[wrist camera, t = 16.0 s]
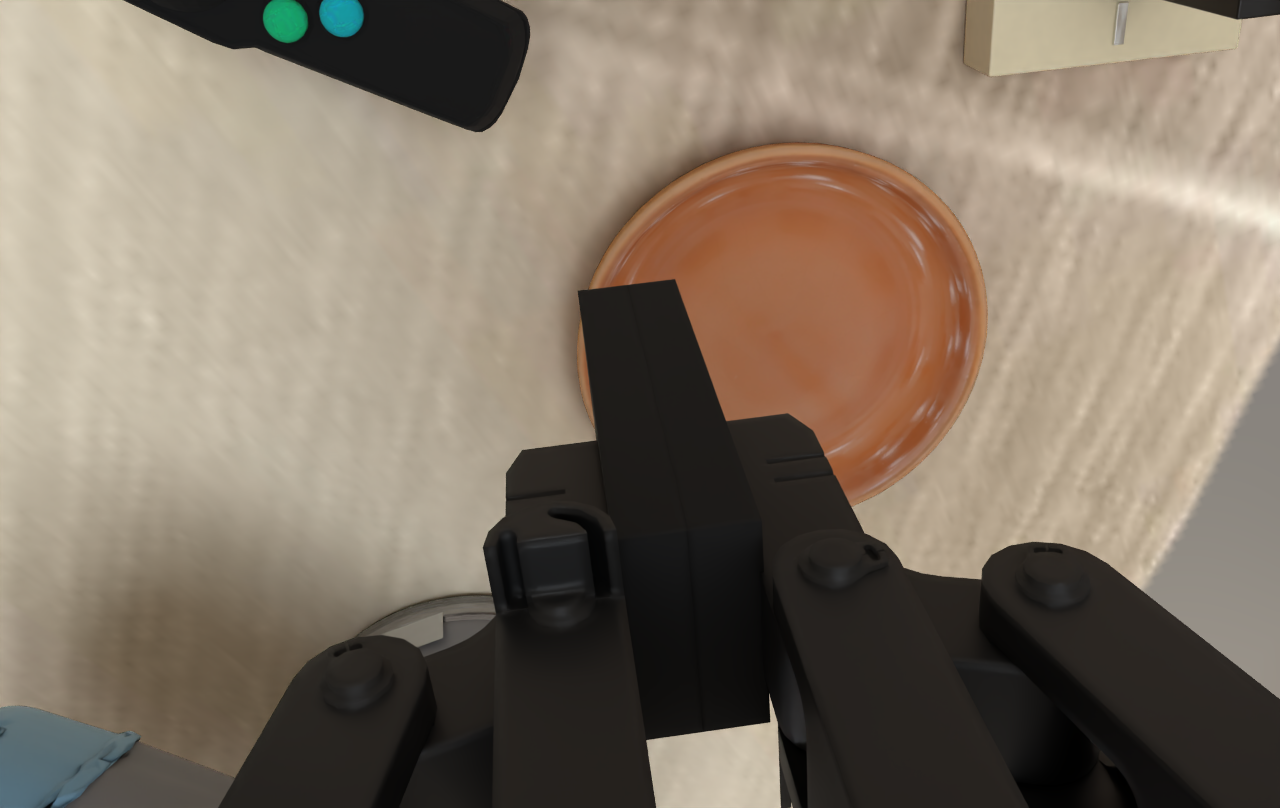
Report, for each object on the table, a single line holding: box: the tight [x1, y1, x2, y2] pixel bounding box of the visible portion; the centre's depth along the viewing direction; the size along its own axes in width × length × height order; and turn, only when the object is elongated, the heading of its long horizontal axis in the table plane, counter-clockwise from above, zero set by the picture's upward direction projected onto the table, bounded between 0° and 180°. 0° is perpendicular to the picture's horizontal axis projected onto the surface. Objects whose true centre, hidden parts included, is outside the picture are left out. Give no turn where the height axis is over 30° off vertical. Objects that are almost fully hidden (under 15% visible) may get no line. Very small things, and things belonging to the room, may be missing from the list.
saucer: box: [577, 142, 988, 507], centre depth 43 cm, size 16×16×3 cm
